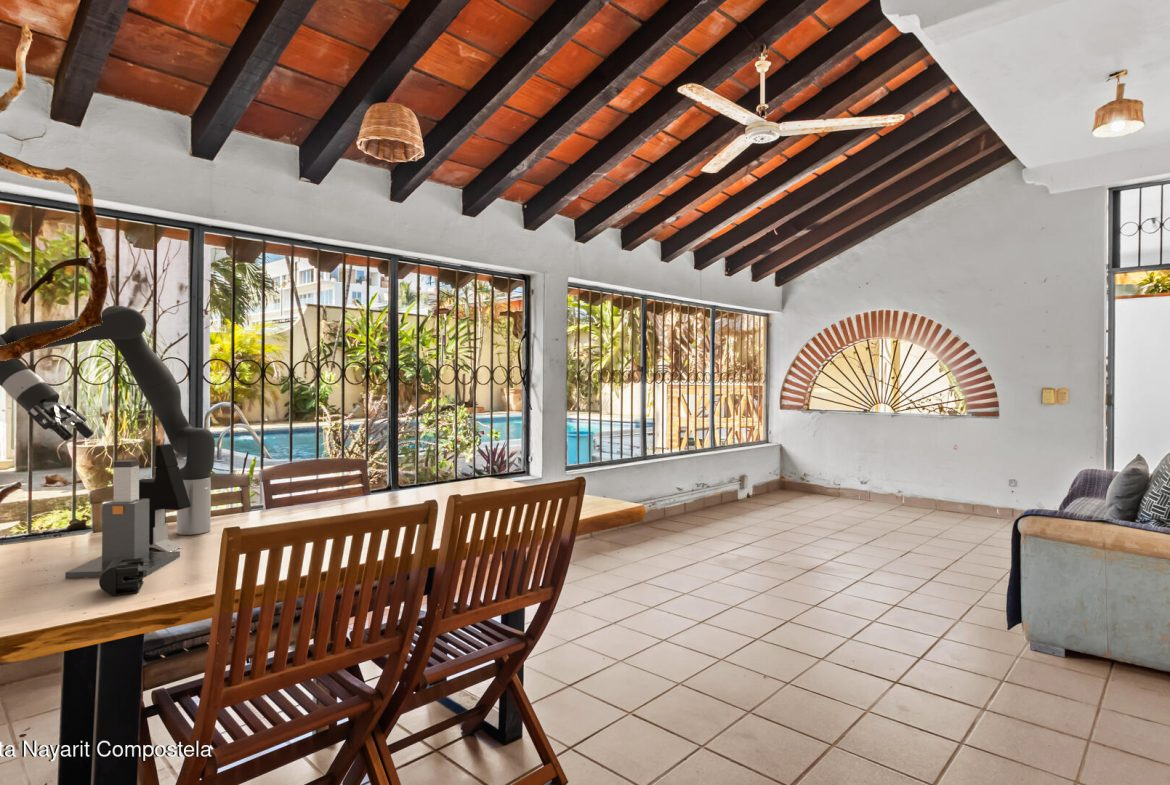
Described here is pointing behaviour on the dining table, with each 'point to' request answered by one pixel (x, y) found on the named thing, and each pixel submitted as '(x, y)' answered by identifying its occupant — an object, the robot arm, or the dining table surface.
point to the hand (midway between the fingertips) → (80, 437)
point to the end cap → (122, 577)
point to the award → (163, 496)
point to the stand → (124, 540)
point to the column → (126, 481)
